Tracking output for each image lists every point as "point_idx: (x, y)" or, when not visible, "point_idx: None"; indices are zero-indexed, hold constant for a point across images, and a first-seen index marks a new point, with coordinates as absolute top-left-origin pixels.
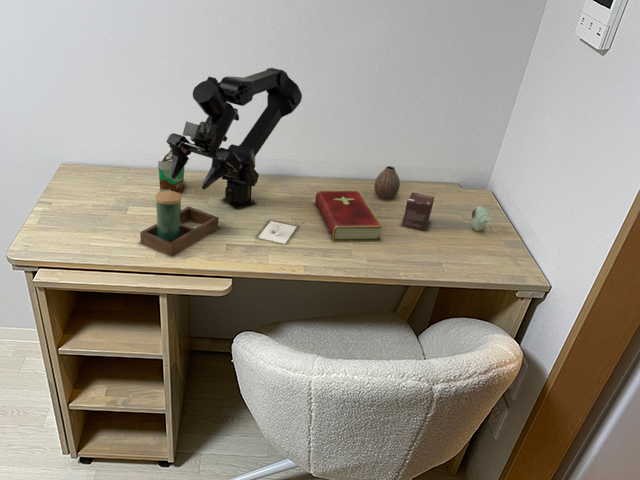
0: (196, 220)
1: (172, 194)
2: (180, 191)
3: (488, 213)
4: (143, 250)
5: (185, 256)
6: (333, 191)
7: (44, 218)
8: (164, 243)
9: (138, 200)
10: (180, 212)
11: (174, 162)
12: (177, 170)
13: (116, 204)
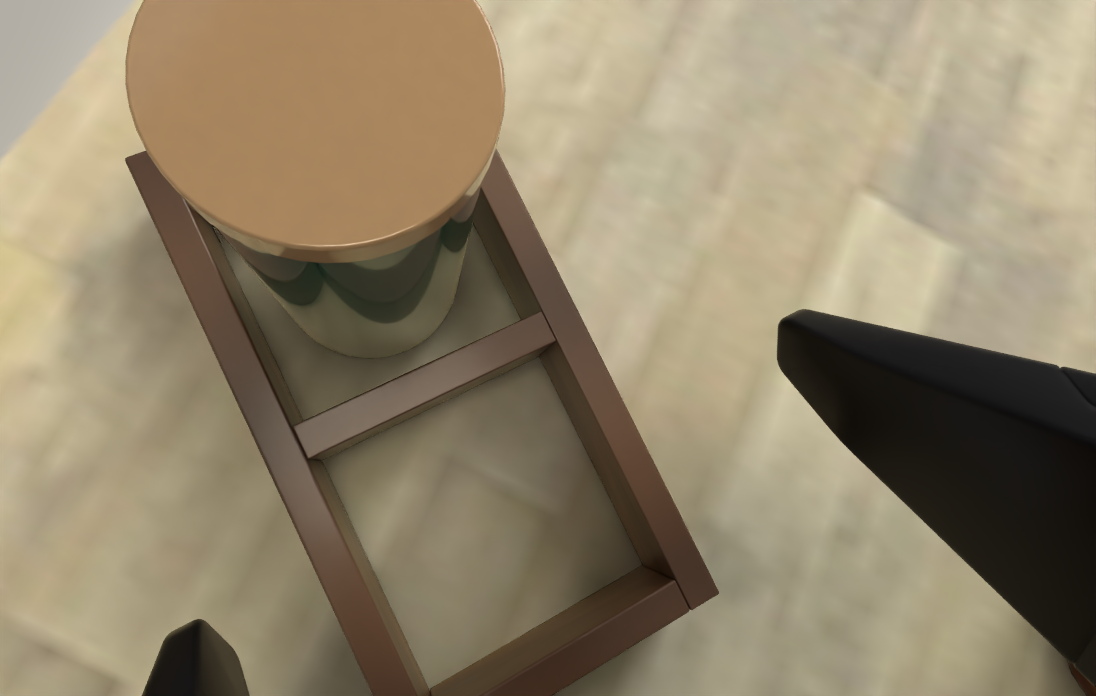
0: (584, 603)
1: (347, 147)
2: (1083, 688)
3: None
4: None
5: (107, 286)
6: None
7: None
8: None
9: (1022, 339)
10: (260, 273)
11: (1057, 390)
12: (899, 439)
13: (1003, 187)
